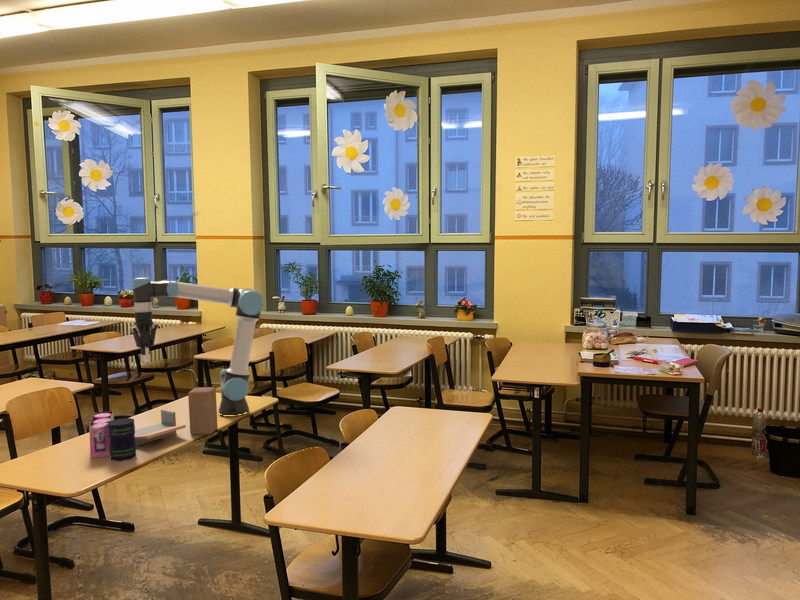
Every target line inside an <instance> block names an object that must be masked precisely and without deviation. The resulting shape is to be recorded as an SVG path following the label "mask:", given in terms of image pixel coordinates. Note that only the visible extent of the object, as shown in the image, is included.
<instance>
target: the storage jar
mask: <svg viewBox="0 0 800 600" xmlns="http://www.w3.org/2000/svg"><path fill="white" fill-rule="evenodd" d="M108 425H109V429H108V431H109V437H110V456H109V457H110V461H113V462H125V461H124V460H126V461H129V460H132V459H134V458H136V457H137V446H136V442H135V436H134V434H135V430H136V426H135V419H134V418H129V417H124V418H123V417H122V418H116V419H114V420H112V421H110V422H109V423H108Z"/></svg>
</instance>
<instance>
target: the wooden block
mask: <svg viewBox="0 0 800 600" xmlns="http://www.w3.org/2000/svg"><path fill="white" fill-rule="evenodd" d="M216 389H217V388H216V387H213V386H212V387H211V386H208V387H200V386H199V387H194V388H193V389H191V390H190V391H189V392H188V394H187V395H188V397H187V399H188V416H189V418H188V419H189V433H190V435H192V436H194V435H193V434H198V435H199V434H201V436H202V435H203V436H205V435H206V436H207V435H212V434H213V433H214V432H216V430H218V407H217V390H216ZM215 429H216V430H215ZM198 435H197V436H198ZM199 436H200V435H199Z"/></svg>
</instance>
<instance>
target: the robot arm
mask: <svg viewBox="0 0 800 600" xmlns="http://www.w3.org/2000/svg"><path fill="white" fill-rule="evenodd" d="M132 291H133V306H134V311H135V312H134V320H135V323H134V326H132V327H130V328H129V329H130V332H131V333H132V335H133V338H134V339H133V340H134V342H135V343H134V344H135V346H136V348H140V355H141V356H142V362H143V363H150V354H151V348H152V347H153V346H155V339H156V334H157V329H158V327H159V325H158V324H155V323H154V321H153V311H152V310H153V306H152V305H153V303H152V299H155V298H156V299H157V298H158V299H159V298H180V299H187V300H195V301H202V302H209V303H216V304H222V305H227V306H229V307H231V308H235V309H236V310H235V317H236V318H237V323H236V329H235V334H234V335H235V336H234V340H233V346H232V353H231V357H230V358H231V359H230V364H229V367H228V368H224V369H221V371H220V372H219V373H220V375H219V377H220V392H221V393H220V395H221V397H220V398H221V401H220V404H219V408H218V409H217V413H218V414H219V413H220V414H222V415H238V414H243V413H245V412H248V411H249V412H250V407H249V405H248V402H247V399H246V396H248V393H249V390H250V386H249V383H250V382H249V381H250V377H251V376H250V375H251V373H250V371H249V369H248V368H249V363H250V357H251V352H252V346H253V342H254V336H255V335H254V334H255V329H256V323H257V322H258V321H260V318H261V313H262V310H263V308H264V304H265V301H264V297H263V296H262V294H261V293H260V292H259V291H257V290H256V289H252V288H235V287H231V288H222V287H217V286H210V285H209V286H208V285H201V284H195V283H188V282H183V281H182V282H181V281H176V280H170V279H162V280H160V281H152V280H151V278H150V277H136V278H134V279H132Z"/></svg>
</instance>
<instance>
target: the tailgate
mask: <svg viewBox="0 0 800 600" xmlns="http://www.w3.org/2000/svg"><path fill="white" fill-rule="evenodd" d="M185 428H186V425H185V424H180V425H179V424H178V425H176V426H171V427H168V428H164V429H161V430H157V431H154V432H151V433H147V434H144V435H140V436H137V437H135V440H141V439H149V438H153V437H156V436H159V435H162V434H166V433H169V432H172V431H176V432H177V431H179V430H183V429H185Z"/></svg>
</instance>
